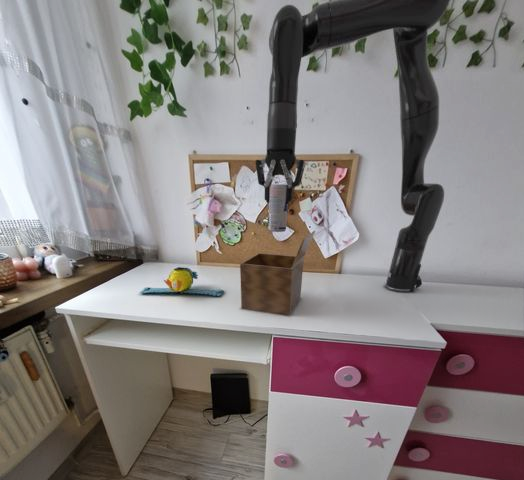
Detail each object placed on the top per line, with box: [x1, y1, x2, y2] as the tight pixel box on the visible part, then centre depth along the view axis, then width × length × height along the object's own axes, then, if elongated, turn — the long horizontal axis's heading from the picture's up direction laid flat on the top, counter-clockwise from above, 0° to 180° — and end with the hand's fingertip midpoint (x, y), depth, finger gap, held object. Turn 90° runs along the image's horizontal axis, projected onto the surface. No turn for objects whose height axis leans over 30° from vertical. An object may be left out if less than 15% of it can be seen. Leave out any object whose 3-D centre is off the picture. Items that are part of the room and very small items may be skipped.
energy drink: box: [267, 183, 289, 233], centre depth 80 cm, size 5×5×12 cm
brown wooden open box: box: [239, 252, 305, 316], centre depth 84 cm, size 15×15×14 cm
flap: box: [292, 230, 316, 266], centre depth 76 cm, size 7×15×1 cm
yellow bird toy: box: [139, 266, 225, 297], centre depth 93 cm, size 28×9×15 cm
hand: (278, 202), depth 79 cm, fingers closed on energy drink, 5 cm apart
